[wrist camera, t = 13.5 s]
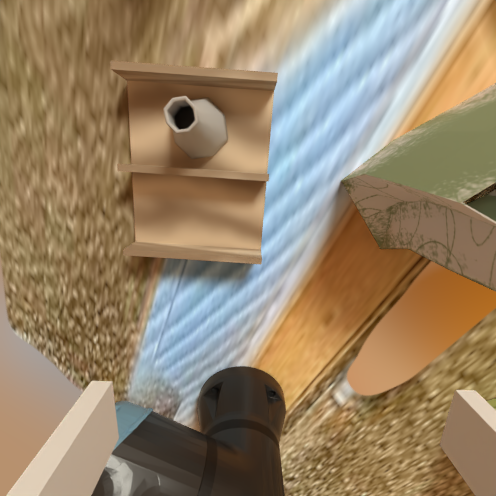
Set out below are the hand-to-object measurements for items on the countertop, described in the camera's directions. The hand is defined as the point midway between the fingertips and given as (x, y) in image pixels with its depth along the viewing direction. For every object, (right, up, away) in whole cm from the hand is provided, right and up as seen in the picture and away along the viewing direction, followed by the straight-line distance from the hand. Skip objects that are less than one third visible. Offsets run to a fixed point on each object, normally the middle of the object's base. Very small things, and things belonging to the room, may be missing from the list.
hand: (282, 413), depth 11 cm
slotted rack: (-8, +17, +27) cm, 33 cm away
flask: (-7, +22, +24) cm, 33 cm away
